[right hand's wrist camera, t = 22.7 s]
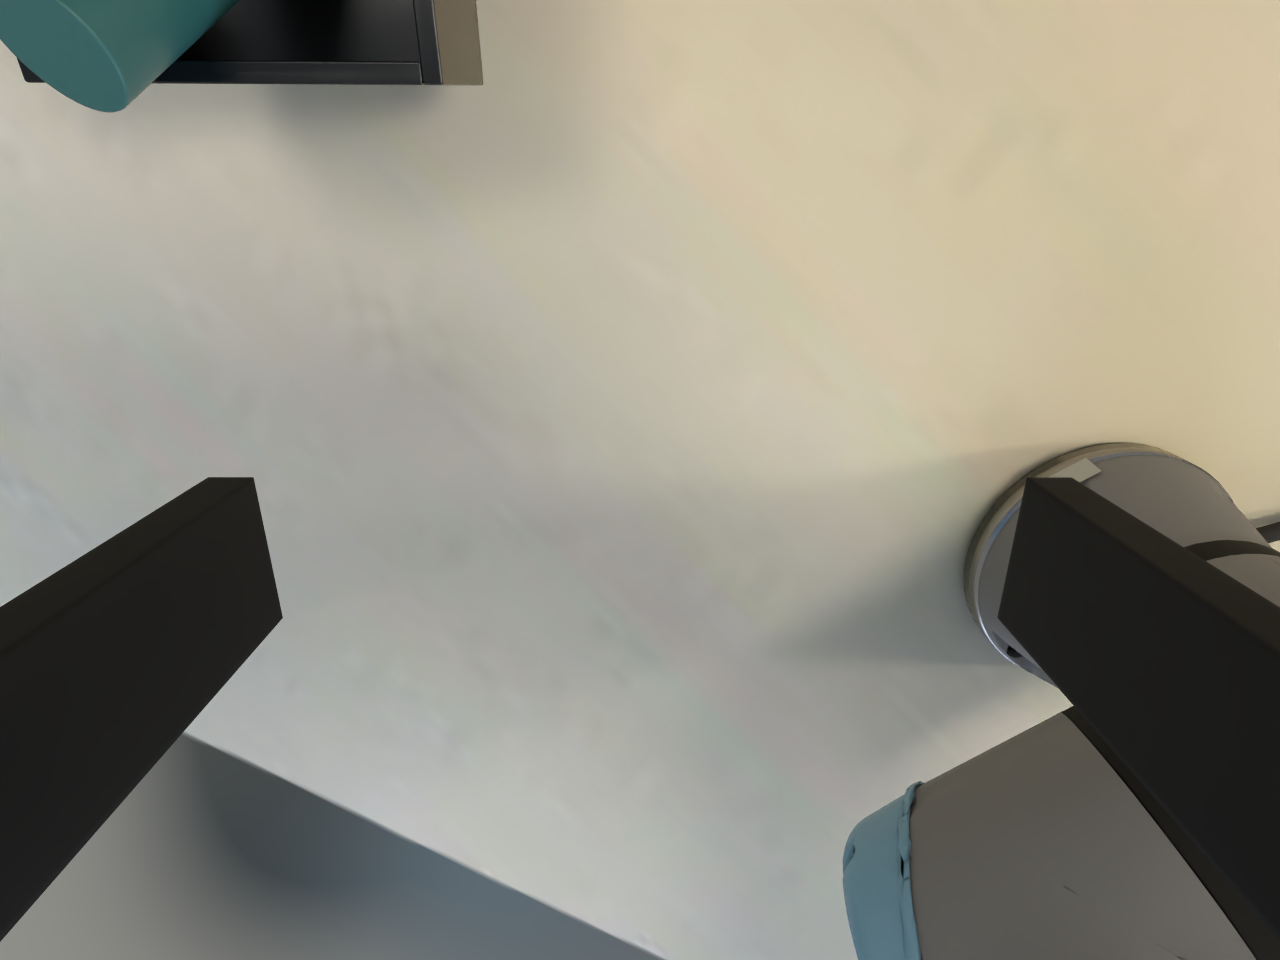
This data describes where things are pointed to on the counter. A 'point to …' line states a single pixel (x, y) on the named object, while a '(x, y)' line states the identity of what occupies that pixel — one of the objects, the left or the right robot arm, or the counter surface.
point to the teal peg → (104, 42)
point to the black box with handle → (333, 44)
